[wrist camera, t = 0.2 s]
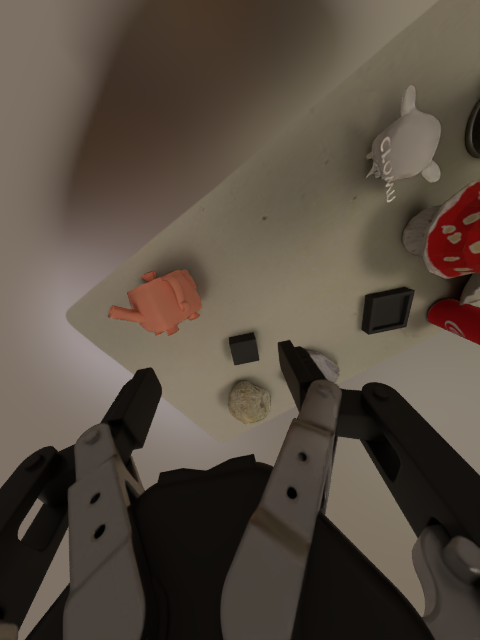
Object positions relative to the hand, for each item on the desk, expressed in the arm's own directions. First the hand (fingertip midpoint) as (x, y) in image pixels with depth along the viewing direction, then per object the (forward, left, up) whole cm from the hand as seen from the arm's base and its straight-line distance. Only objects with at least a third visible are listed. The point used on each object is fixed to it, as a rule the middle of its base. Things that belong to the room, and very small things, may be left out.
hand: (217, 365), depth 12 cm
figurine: (-13, +29, -27) cm, 42 cm away
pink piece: (+6, -10, -21) cm, 24 cm away
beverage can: (+18, +47, -27) cm, 57 cm away
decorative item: (+32, 0, -27) cm, 42 cm away
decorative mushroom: (0, +38, -27) cm, 47 cm away
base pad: (+15, +34, -27) cm, 46 cm away
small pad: (+17, +2, -27) cm, 32 cm away
